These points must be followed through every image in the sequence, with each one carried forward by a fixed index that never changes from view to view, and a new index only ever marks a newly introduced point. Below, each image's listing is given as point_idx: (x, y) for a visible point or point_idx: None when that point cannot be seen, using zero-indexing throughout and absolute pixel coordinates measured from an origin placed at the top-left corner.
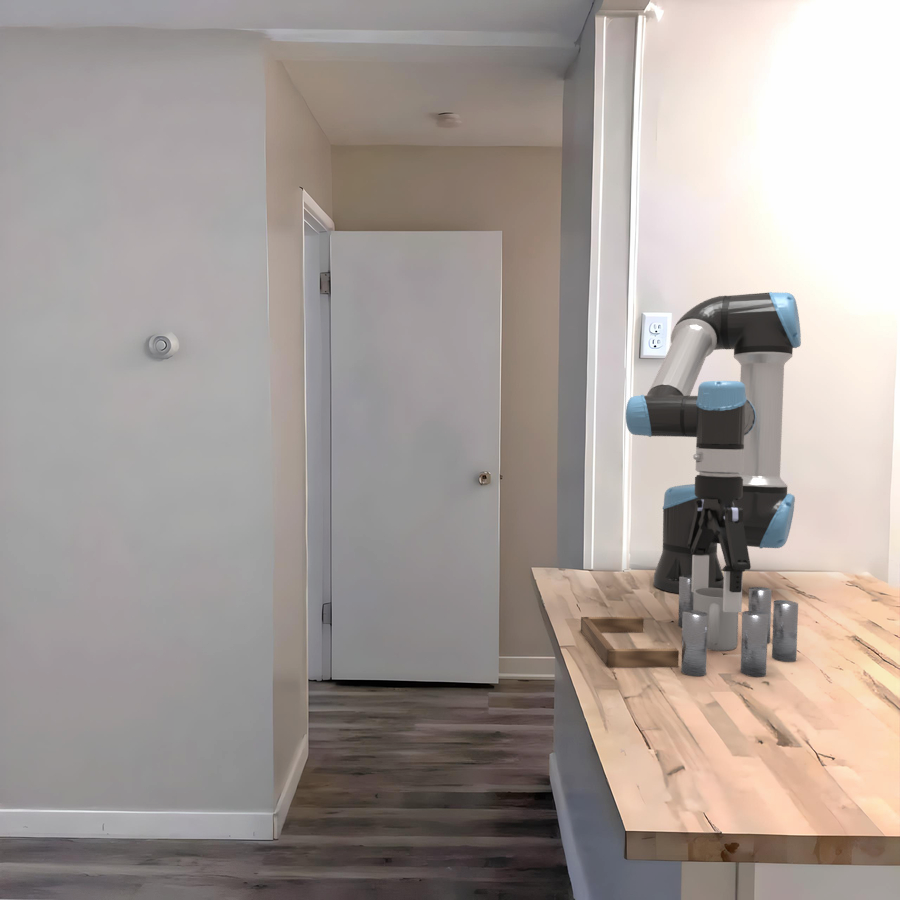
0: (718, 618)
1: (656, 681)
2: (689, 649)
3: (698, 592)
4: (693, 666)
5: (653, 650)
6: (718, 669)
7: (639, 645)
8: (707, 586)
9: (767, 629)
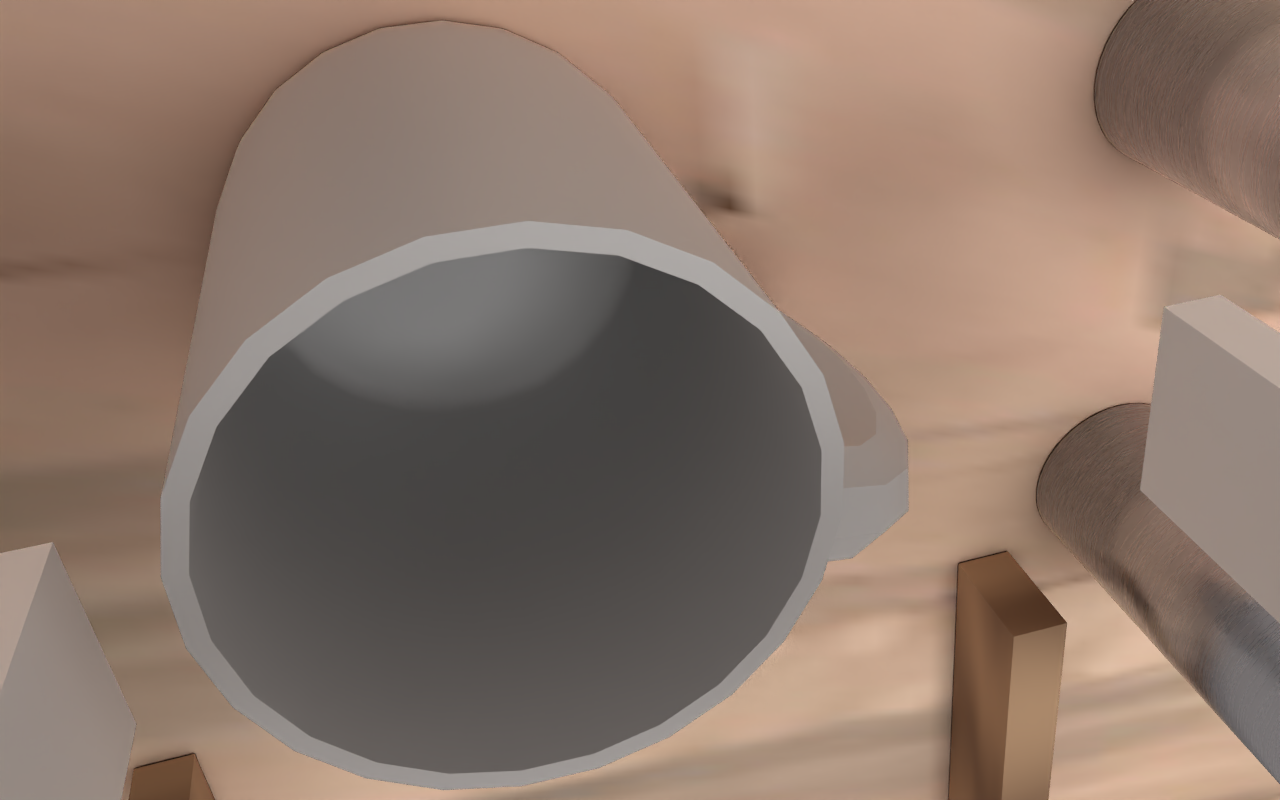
0: (892, 429)
1: None
2: None
3: (310, 698)
4: None
5: (1045, 755)
6: (1078, 311)
7: None
8: (31, 615)
9: None
